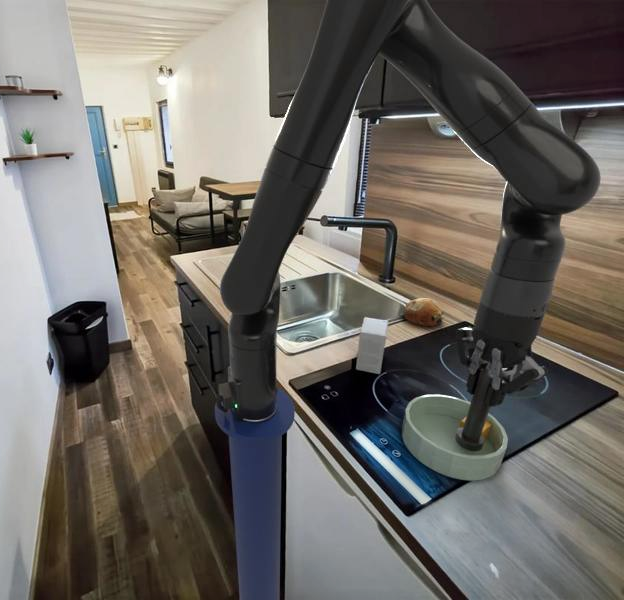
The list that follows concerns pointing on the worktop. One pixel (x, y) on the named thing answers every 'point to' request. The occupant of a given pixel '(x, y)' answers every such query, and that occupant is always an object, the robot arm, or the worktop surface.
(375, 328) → the small box
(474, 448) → the rod
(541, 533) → the worktop surface
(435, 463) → the bowl
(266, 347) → the robot arm
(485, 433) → the block
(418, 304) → the bread roll
